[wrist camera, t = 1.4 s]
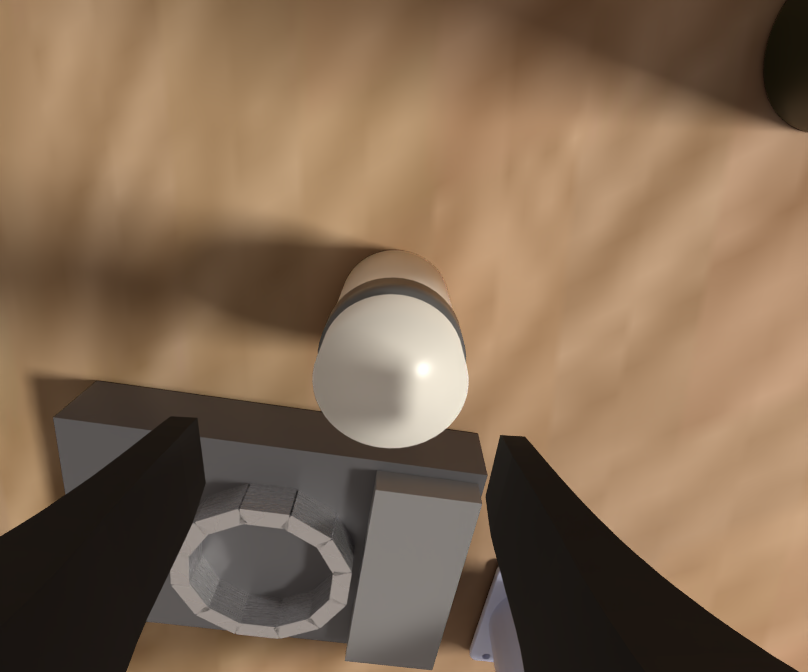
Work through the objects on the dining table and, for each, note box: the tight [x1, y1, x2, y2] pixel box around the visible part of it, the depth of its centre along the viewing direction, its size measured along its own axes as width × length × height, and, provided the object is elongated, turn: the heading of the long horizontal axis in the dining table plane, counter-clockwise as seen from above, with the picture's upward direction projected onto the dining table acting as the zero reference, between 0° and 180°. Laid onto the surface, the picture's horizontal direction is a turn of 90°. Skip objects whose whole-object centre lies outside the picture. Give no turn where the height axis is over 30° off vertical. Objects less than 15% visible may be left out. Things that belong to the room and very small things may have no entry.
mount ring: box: [170, 483, 355, 639], centre depth 22 cm, size 8×8×2 cm
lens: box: [313, 250, 468, 448], centre depth 17 cm, size 5×5×7 cm
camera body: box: [53, 381, 488, 670], centre depth 23 cm, size 18×12×4 cm, turn 81°
